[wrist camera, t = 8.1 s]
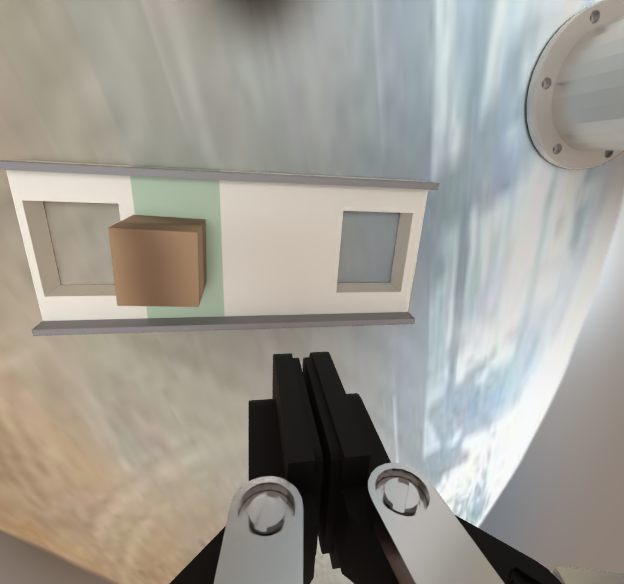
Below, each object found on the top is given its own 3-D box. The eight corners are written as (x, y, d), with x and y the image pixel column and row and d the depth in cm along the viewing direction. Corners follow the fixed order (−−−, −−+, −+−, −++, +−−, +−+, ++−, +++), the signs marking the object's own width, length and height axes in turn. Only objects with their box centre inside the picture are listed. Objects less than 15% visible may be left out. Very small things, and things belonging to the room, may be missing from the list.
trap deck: (415, 180, 30) (439, 183, 27) (396, 306, 35) (414, 323, 31) (26, 160, 25) (-13, 160, 21) (60, 313, 29) (33, 336, 25)
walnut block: (205, 219, 26) (197, 232, 21) (206, 282, 28) (198, 307, 23) (133, 214, 25) (108, 227, 20) (139, 280, 27) (117, 305, 22)
